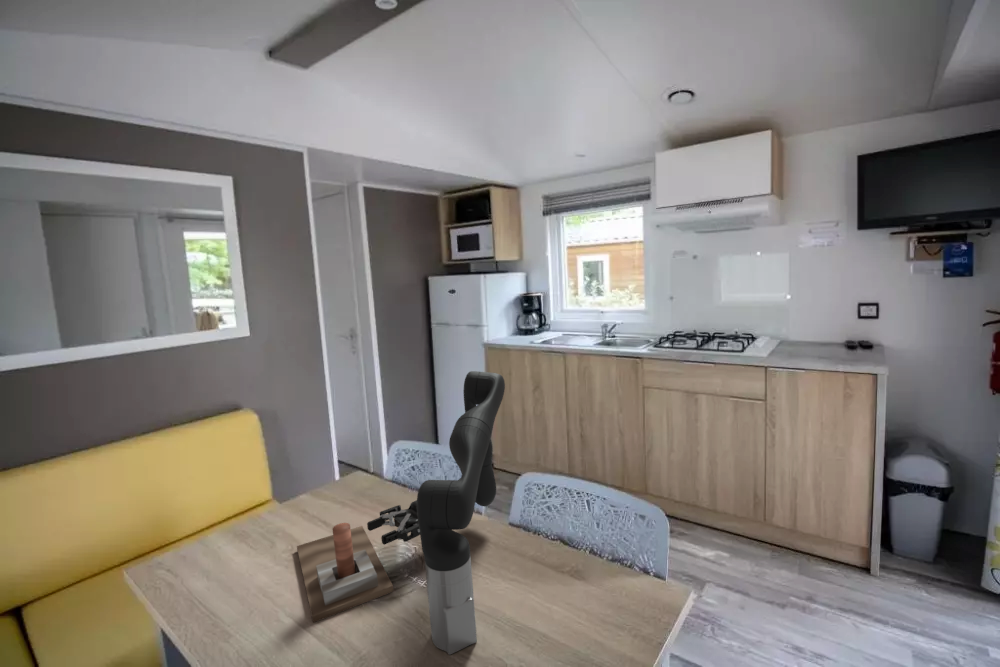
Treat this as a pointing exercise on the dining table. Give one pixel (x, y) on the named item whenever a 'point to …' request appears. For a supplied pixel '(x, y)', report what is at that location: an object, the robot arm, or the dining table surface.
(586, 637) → the dining table surface
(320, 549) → the socket board
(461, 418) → the robot arm
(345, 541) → the pin
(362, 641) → the dining table surface
